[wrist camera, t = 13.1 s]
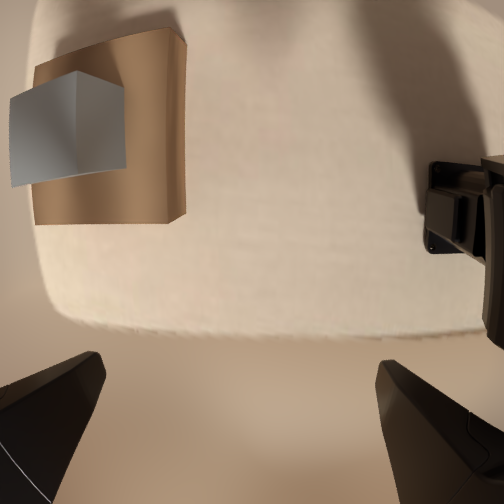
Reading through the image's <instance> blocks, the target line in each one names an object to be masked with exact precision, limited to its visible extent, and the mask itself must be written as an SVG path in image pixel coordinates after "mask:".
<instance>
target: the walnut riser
mask: <svg viewBox="0 0 504 504" xmlns="http://www.w3.org/2000/svg"><path fill="white" fill-rule="evenodd" d="M186 57H187V45H186V44H185V42H184V41H183V40H182V39H181V38H180V37H179V36H178V35H177V34H176V33H175V32H174V31H173V30H172V29H171V28H170V27H167V28H162V29H156V30H151V31H146V32H142V33H137V34H133V35H129V36H125V37H121V38H117V39H113V40H109V41H106V42H102V43H99V44H96V45H92V46H89V47H86V48H83V49H80V50H77V51H74V52H71V53H68V54H66V55H63V56H60V57H58V58H55V59H52V60H50V61H47V62H45V63H43V64H40V65H38V66H35V72H34V81H33V88H34V87H36V86H39V85H41V84H43V83H46V82H48V81H51V80H53V79H56V78H58V77H61V76H63V75H66V74H69V73H71V72H74V71H80V72H83V73H86V74H89V75H92V76H94V77H97V78H100V79H102V80H105V81H108V82H110V83H113V84H116V85H118V86H121V87H123V88H124V120H125V148H126V166H127V168H125V169H118V170H111V171H104V172H98V173H92V174H85V175H80V176H74V177H68V178H63V179H56V180H50V181H45V182H39V183H34V184H31V185H32V198H33V209H34V218H35V225H65V224H169V223H170V222H172V221H174V220H176V219H177V218H179V217H181V216H182V215H184V214H186V189H185V85H186Z"/></svg>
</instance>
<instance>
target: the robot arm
mask: <svg viewBox="0 0 504 504" xmlns="http://www.w3.org/2000/svg"><path fill="white" fill-rule="evenodd" d="M436 165H437V166H438V171H437V172H436V171H435V169H434V168H435V166H436ZM481 165H482V166H475V165H467V164H458V163H449V162H439V161H433V162H431V163H430V165H429V189H428V190H427V195H426V216H425V227H426V228H427V231H426V243H425V249H426V251H428V252H429V253H430V254H453V253H466V254H467V255H469V256H471V257H472V258H474V259H475V260H477V261H478V262H480V263H482V264H483V265H485V288H484V302H483V313H482V319H483V322H484V325H485V327H486V329H487V337H488V338H489V339H490V340H491V341H492V342H493V343H494V344H495V345H497V346H498V347H499V348H501V349H503V350H504V155H498V156H490V157H482V158H481ZM432 244H434V247H433V248H432V249H430V247H431V245H432ZM105 379H106V370H105V367H104V364H103V362H102V358H101V355H100V354H99V353H98V352H94V351H87V352H84V353H82V354H80V355H77V356H75V357H73V358H70V359H68V360H66V361H64V362H61V363H59V364H56V365H54V366H52V367H49V368H47V369H45V370H42V371H40V372H38V373H35V374H33V375H30V376H28V377H26V378H23V379H21V380H18V381H16V382H14V383H11V384H10V385H6V386H4V387H1V388H0V504H52V503H53V501H54V499H55V496H56V494H57V491H58V489H59V486H60V484H61V482H62V479H63V477H64V475H65V472H66V470H67V468H68V465H69V463H70V461H71V459H72V457H73V454H74V452H75V450H76V447H77V446H78V443H79V441H80V439H81V437H82V434H83V433H84V431H85V428H86V426H87V424H88V422H89V420H90V418H91V416H92V413H93V411H94V409H95V406H96V403H97V401H98V398H99V395H100V392H101V390H102V387H103V384H104V381H105ZM375 388H376V395H377V401H378V408H379V414H380V421H381V427H382V432H383V436H384V439H385V443H386V447H387V451H388V455H389V459H390V463H391V467H392V471H393V475H394V479H395V483H396V487H397V492H398V496H399V501H400V504H504V432H503V431H501V430H499V429H498V428H496V427H494V426H492V425H490V424H489V423H487V422H486V421H484V420H482V419H481V418H479V417H478V416H476V415H475V414H473V413H472V412H469V410H467V409H466V408H464V407H463V406H461V405H460V404H458V403H457V402H455V401H454V400H452V399H451V398H449V397H448V396H446V395H445V394H443V393H442V392H440V391H439V390H438V389H436V388H435V387H433V386H432V385H430V384H429V383H427V382H426V381H424V380H423V379H421V378H420V377H418V376H417V375H415V374H414V373H413V372H411V371H410V370H408V369H407V368H405V367H404V366H402V365H401V364H399V363H398V362H396V361H395V360H383V361H381V362H380V364H379V368H378V373H377V377H376V382H375Z"/></svg>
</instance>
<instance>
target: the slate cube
mask: <svg viewBox="0 0 504 504" xmlns="http://www.w3.org/2000/svg"><path fill="white" fill-rule="evenodd" d="M9 148H10V149H9V151H10V171H11V184H12V188H13V187H18V186H23V185H28V184H34V183H39V182H45V181H50V180H56V179H63V178H68V177H74V176H80V175H85V174H92V173H98V172H104V171H111V170H118V169H125V168H127V166H126V148H125V120H124V88H123V87H121V86H118V85H116V84H113V83H110V82H108V81H105V80H102V79H100V78H97V77H94V76H92V75H89V74H86V73H83V72H80V71H74V72H71V73H69V74H66V75H63V76H61V77H58V78H56V79H53V80H51V81H48V82H46V83H43V84H41V85H39V86H36V87H34V88H32V89H30V90H28V91H25V92H23V93H21V94H19V95H17V96H15V97H13V98H11V99H10V114H9Z"/></svg>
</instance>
